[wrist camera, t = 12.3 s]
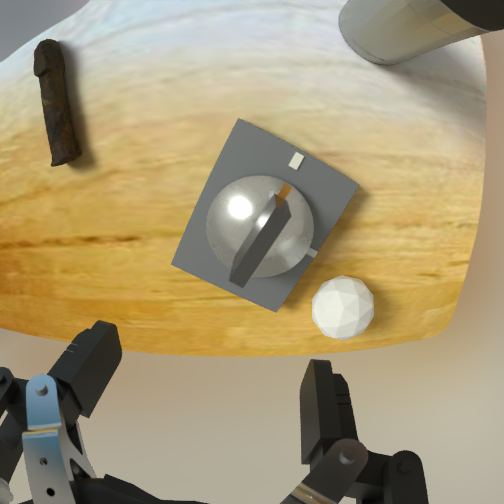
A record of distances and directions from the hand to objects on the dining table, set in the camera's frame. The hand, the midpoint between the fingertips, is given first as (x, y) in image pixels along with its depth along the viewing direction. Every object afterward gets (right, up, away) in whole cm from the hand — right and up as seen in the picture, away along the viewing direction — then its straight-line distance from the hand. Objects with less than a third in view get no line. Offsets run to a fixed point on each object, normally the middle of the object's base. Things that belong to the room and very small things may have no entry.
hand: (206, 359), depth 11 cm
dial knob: (+3, +7, +19) cm, 20 cm away
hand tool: (-24, +25, +16) cm, 38 cm away
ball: (+13, -1, +25) cm, 29 cm away
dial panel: (+3, +8, +22) cm, 23 cm away
